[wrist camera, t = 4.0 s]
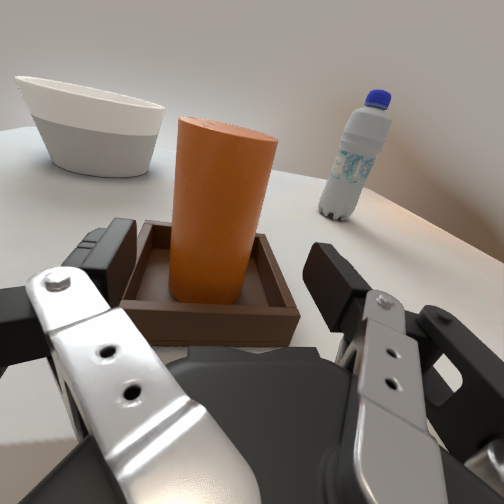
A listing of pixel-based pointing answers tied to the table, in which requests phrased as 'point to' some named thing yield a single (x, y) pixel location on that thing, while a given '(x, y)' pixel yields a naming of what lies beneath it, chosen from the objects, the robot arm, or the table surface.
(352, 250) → the table surface
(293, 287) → the table surface
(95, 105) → the bowl
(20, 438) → the table surface
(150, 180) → the table surface
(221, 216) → the orange cylinder
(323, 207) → the bottle
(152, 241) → the tray
